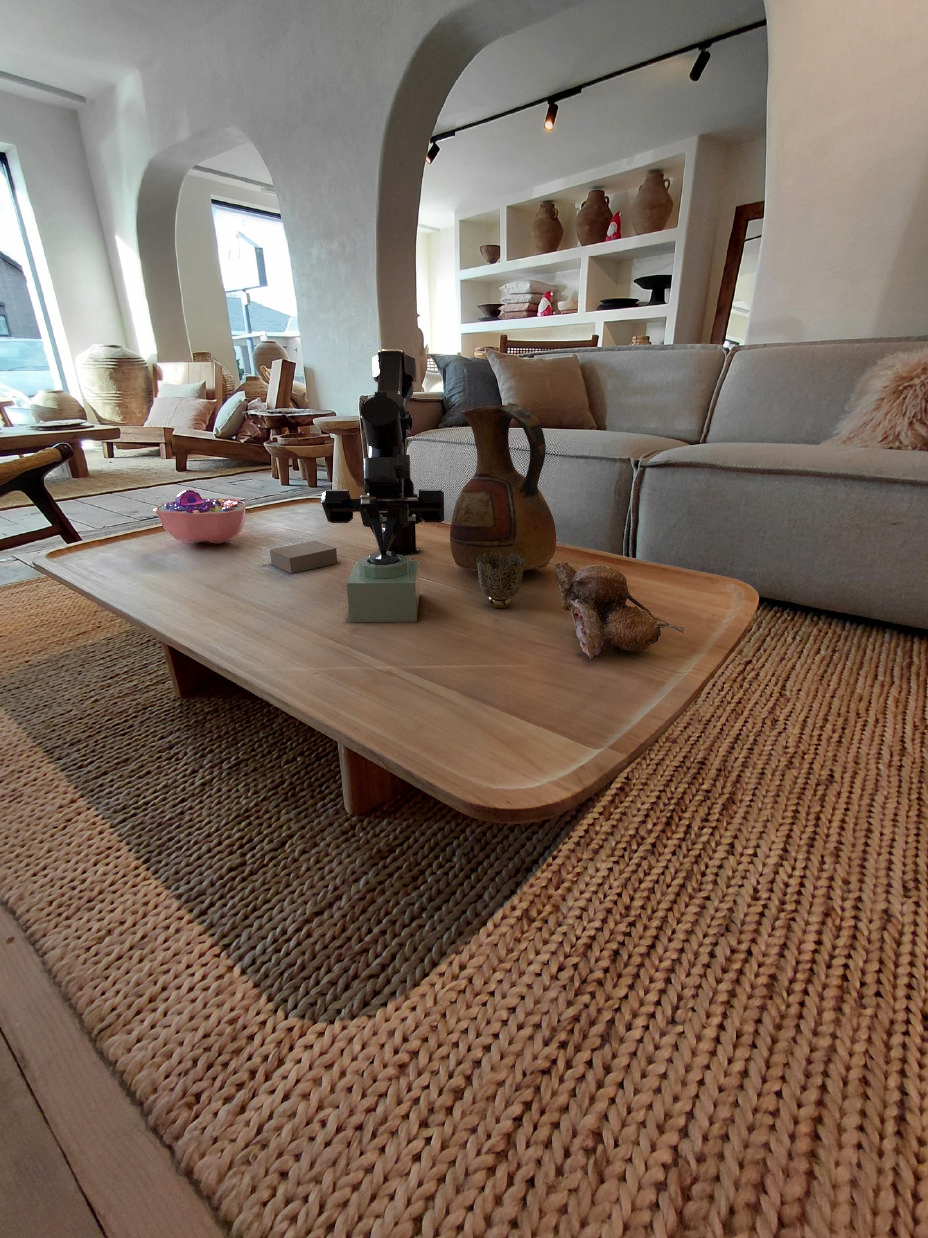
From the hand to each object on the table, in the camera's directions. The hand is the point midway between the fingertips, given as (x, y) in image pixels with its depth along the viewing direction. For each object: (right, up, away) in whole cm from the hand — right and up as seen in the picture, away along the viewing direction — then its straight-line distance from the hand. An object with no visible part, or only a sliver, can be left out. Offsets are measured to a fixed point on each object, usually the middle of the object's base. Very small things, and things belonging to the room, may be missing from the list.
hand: (383, 553), depth 87 cm
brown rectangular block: (-19, +1, +26) cm, 32 cm away
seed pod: (+31, -14, -8) cm, 35 cm away
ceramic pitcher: (+19, -1, +22) cm, 30 cm away
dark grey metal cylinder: (0, -3, +1) cm, 3 cm away
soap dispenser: (0, -8, +4) cm, 9 cm away
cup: (+18, -8, +5) cm, 20 cm away
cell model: (-44, +7, +40) cm, 60 cm away
